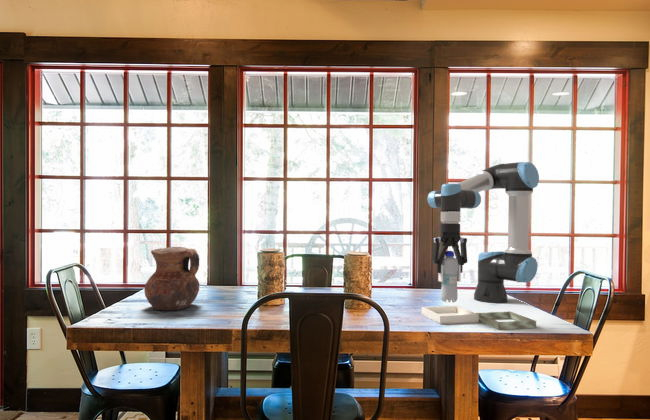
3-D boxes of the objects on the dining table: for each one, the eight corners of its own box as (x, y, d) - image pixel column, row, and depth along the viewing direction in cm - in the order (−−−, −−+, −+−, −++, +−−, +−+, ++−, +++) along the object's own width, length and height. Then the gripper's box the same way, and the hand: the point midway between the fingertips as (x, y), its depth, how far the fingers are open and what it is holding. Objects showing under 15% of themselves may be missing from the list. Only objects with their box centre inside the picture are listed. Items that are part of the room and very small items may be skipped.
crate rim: (509, 317, 182) (510, 311, 182) (536, 327, 166) (536, 320, 166) (474, 319, 178) (474, 312, 178) (498, 329, 163) (498, 322, 163)
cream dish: (457, 312, 189) (457, 305, 189) (478, 322, 173) (478, 314, 173) (421, 314, 185) (421, 307, 185) (439, 324, 170) (440, 316, 170)
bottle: (449, 303, 174) (450, 251, 174) (436, 300, 180) (437, 250, 180) (461, 302, 178) (462, 251, 178) (448, 299, 184) (449, 249, 184)
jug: (139, 313, 180) (140, 250, 180) (148, 303, 201) (149, 246, 201) (197, 311, 185) (198, 250, 185) (200, 301, 205) (201, 246, 205)
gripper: (467, 222, 185) (466, 279, 185) (423, 222, 181) (422, 280, 181) (478, 223, 178) (477, 282, 178) (431, 222, 173) (430, 283, 173)
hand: (449, 281), depth 179 cm, fingers closed on bottle, 7 cm apart
